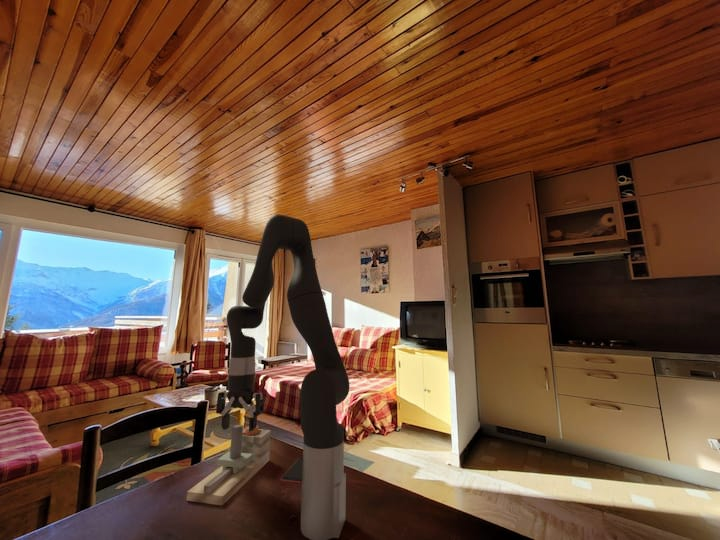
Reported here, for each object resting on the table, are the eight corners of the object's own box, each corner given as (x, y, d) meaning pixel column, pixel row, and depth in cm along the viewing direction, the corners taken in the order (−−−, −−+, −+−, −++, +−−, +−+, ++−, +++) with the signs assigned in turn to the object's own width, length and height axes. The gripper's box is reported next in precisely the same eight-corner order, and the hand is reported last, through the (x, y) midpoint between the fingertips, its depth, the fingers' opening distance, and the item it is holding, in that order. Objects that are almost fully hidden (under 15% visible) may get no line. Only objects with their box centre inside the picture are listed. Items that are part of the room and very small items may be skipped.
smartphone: (319, 458, 93) (302, 482, 79) (319, 460, 93) (302, 484, 79) (299, 456, 94) (279, 479, 80) (299, 458, 94) (279, 481, 80)
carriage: (252, 465, 84) (254, 424, 86) (242, 474, 79) (244, 430, 81) (227, 462, 85) (230, 422, 87) (216, 471, 81) (219, 428, 83)
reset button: (260, 435, 93) (261, 425, 93) (253, 440, 89) (254, 430, 89) (249, 434, 93) (249, 424, 94) (242, 439, 89) (242, 429, 90)
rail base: (269, 460, 92) (270, 430, 93) (222, 505, 69) (225, 464, 71) (240, 457, 94) (243, 427, 95) (186, 500, 71) (190, 460, 73)
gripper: (269, 370, 89) (267, 426, 87) (229, 369, 92) (225, 423, 89) (256, 374, 82) (253, 436, 79) (212, 373, 85) (208, 433, 82)
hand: (238, 429), depth 84 cm, fingers open, 8 cm apart
